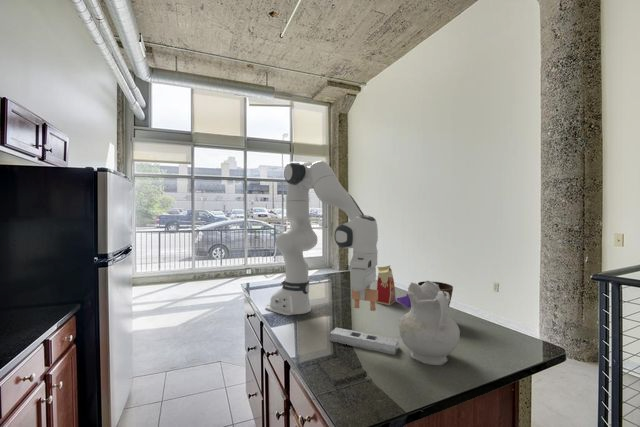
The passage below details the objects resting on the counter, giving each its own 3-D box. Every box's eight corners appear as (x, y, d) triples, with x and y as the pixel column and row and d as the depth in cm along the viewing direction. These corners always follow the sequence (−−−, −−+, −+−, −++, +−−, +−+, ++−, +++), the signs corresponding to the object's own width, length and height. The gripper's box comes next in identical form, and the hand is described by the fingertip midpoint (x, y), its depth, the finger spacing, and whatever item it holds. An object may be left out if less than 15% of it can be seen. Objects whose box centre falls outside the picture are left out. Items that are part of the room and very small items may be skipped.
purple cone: (420, 307, 154) (420, 294, 154) (408, 308, 152) (408, 294, 152) (407, 300, 166) (407, 288, 166) (396, 301, 164) (396, 288, 164)
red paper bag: (395, 301, 163) (396, 264, 163) (390, 305, 155) (390, 267, 155) (379, 298, 168) (380, 262, 167) (373, 302, 160) (374, 265, 160)
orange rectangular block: (351, 308, 110) (351, 289, 110) (354, 305, 113) (354, 287, 113) (375, 311, 106) (376, 292, 106) (377, 309, 109) (378, 290, 109)
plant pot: (415, 313, 144) (416, 280, 144) (448, 316, 141) (449, 282, 141) (419, 324, 129) (419, 287, 129) (456, 328, 126) (456, 290, 126)
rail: (329, 341, 112) (330, 333, 112) (335, 335, 117) (335, 327, 117) (395, 354, 102) (395, 346, 102) (398, 347, 107) (398, 339, 107)
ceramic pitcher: (477, 375, 92) (484, 294, 93) (423, 379, 87) (430, 293, 87) (432, 344, 113) (437, 278, 113) (386, 346, 107) (392, 277, 108)
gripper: (364, 255, 120) (364, 289, 120) (347, 263, 101) (347, 304, 102) (380, 256, 117) (379, 291, 118) (366, 264, 99) (365, 306, 99)
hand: (364, 297), depth 109 cm, fingers closed on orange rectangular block, 3 cm apart
